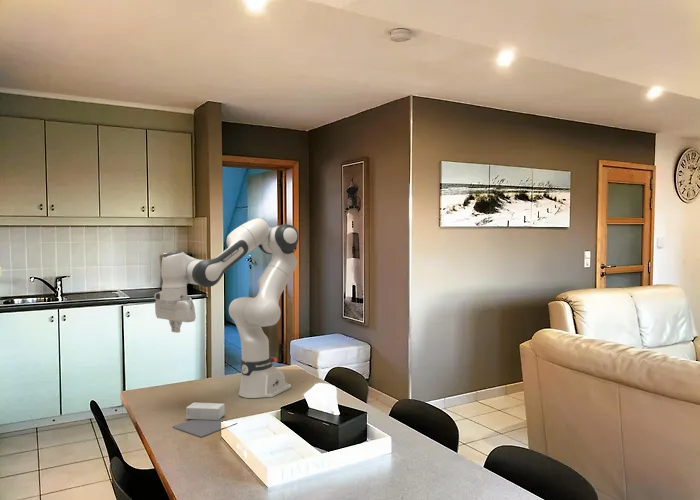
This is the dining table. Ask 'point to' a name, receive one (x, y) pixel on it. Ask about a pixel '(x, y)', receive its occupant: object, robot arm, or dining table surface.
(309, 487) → the dining table surface
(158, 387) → the dining table surface
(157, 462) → the dining table surface
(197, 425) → the mat
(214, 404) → the skincare box
